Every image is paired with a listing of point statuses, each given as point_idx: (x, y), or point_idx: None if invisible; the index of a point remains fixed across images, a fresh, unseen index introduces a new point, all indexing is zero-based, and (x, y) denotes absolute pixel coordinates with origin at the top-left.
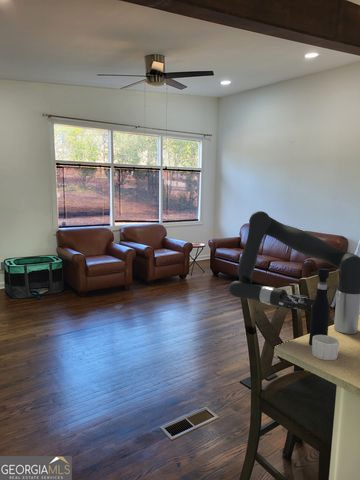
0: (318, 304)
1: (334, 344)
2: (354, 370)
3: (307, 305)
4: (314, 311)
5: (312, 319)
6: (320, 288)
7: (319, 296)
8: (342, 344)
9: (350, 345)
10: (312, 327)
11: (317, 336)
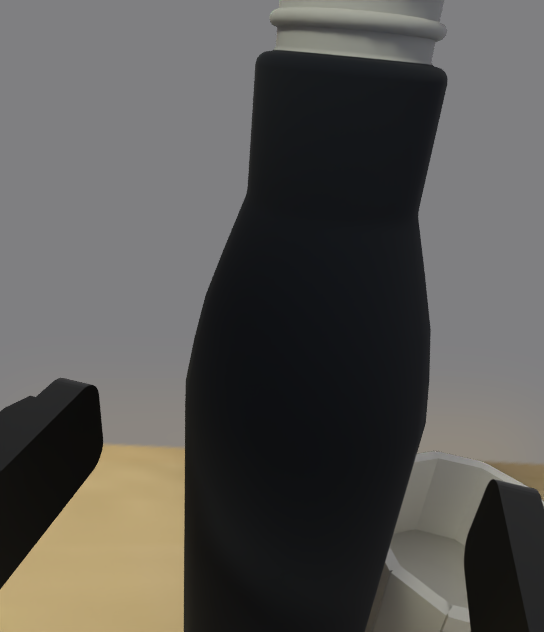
0: (429, 330)
1: (503, 473)
2: (497, 465)
3: (489, 482)
4: (412, 459)
5: (372, 568)
6: (433, 47)
7: (418, 209)
8: (163, 505)
9: (161, 467)
10: (359, 627)
11: (433, 597)
